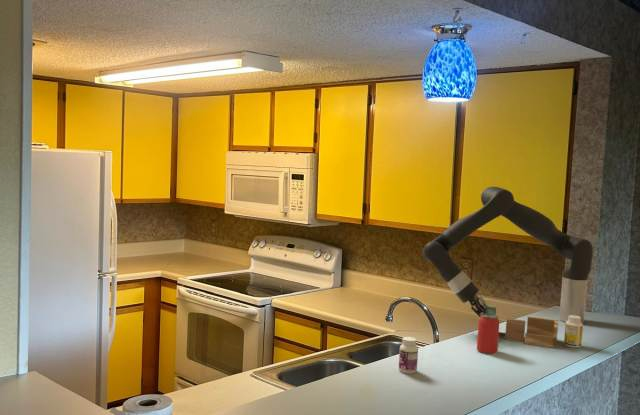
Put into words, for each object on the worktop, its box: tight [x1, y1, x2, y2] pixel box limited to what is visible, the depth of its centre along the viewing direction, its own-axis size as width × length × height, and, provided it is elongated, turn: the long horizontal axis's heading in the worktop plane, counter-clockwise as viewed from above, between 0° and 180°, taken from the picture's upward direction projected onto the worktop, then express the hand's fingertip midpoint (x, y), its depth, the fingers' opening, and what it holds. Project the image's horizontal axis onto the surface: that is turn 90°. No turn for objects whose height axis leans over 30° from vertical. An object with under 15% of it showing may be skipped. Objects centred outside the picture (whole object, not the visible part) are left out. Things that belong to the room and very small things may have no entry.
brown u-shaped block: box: [524, 316, 559, 349], centre depth 220 cm, size 11×10×7 cm
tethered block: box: [485, 305, 526, 342], centre depth 224 cm, size 6×14×10 cm, turn 69°
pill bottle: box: [398, 336, 419, 375], centre depth 184 cm, size 5×5×10 cm
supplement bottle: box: [563, 315, 584, 349], centre depth 216 cm, size 6×6×10 cm
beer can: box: [476, 313, 500, 355], centre depth 206 cm, size 7×7×12 cm
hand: (495, 324), depth 225 cm, fingers closed on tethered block, 4 cm apart
